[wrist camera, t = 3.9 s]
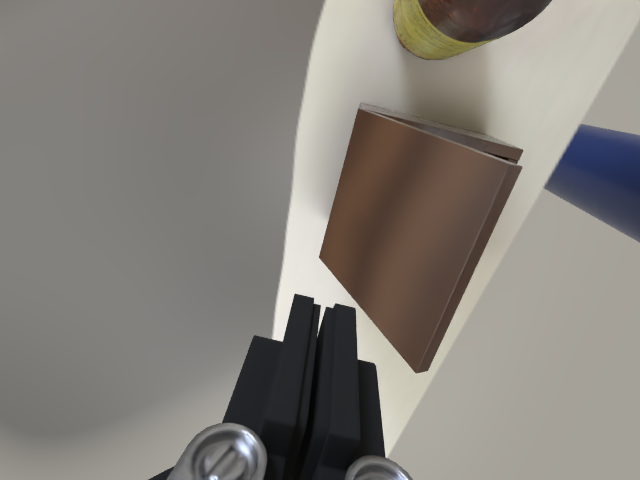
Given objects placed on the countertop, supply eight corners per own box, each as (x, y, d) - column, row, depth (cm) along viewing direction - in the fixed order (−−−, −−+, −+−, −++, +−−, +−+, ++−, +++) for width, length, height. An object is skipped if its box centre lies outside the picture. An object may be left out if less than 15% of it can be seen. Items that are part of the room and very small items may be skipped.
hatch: (523, 166, 14) (509, 164, 14) (428, 371, 18) (415, 374, 18) (368, 110, 23) (358, 107, 22) (328, 257, 27) (318, 257, 27)
